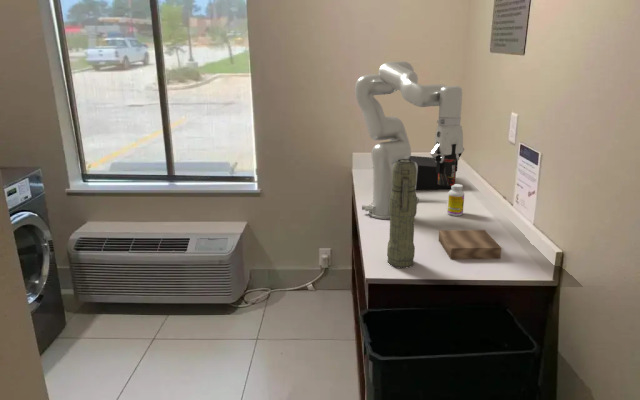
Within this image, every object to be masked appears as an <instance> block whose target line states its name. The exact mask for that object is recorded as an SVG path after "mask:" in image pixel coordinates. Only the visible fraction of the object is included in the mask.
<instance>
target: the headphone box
mask: <svg viewBox="0 0 640 400" xmlns="http://www.w3.org/2000/svg"><path fill="white" fill-rule="evenodd" d="M409 160H412V161H414V162H416V163H417V165H418V170H417V183H416V192H417V191H445V190H447V191H448V190H449V191H450V190H452V189H451V186H441V185H438V173H436V164H437V162H435V159H434V158H433V157H432V156H416V155H411V156H410V158H409ZM456 175H457V172H455V179H456V178H457V177H456ZM454 184H456V182H455V183H454Z"/></svg>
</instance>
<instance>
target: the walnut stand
mask: <svg viewBox="0 0 640 400" xmlns="http://www.w3.org/2000/svg"><path fill="white" fill-rule="evenodd" d="M438 242H439V243H440V245H441V247H442V248H443V250H444V252H445V253H446V254H447V256H448V257H449V259H450V260H477V259H478V260H480V259H481V260H486V259H487V260H488V259H489V260H491V259H496V260H497V259H498V260H500V259H501V255H502V247H501V245H499V244H498V242H497V241H496V240H495V239H494V238H493V237H492V236H491V235H490V234H489V232H488V231H486V229H476V230H475V229H467V230H466V229H461V230H460V229H459V230H458V229H452V230H450V229H447V230H446V229H445V230H439V231H438Z"/></svg>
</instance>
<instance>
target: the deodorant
mask: <svg viewBox="0 0 640 400" xmlns="http://www.w3.org/2000/svg"><path fill="white" fill-rule="evenodd" d="M451 146H452V147H451V148H452V153H451V155H447V156H445V157H444V160H443V163H444V173H443V174H439V173H438V185H441V186H453V185H454V183H455V184H456V178H455V166H456V154H455V151H456V144H452V145H451ZM440 154H441V153H440ZM440 158H441V156H440Z"/></svg>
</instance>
